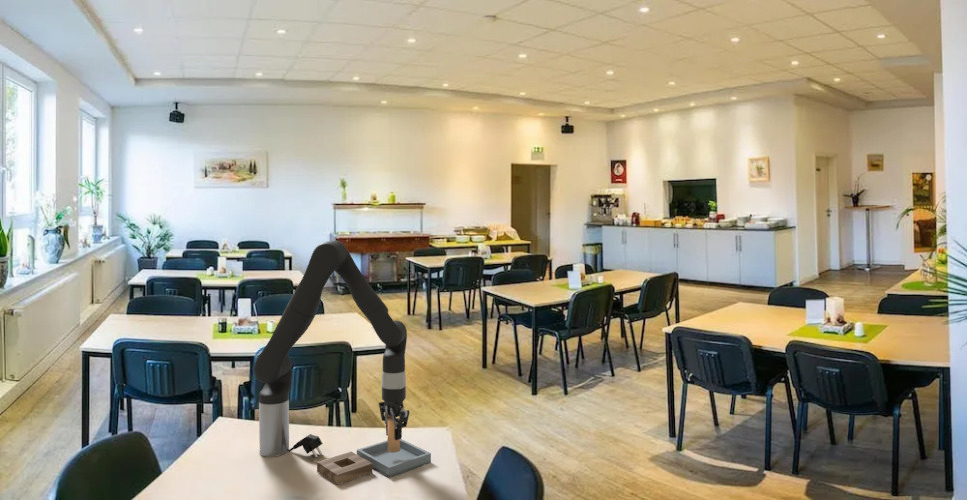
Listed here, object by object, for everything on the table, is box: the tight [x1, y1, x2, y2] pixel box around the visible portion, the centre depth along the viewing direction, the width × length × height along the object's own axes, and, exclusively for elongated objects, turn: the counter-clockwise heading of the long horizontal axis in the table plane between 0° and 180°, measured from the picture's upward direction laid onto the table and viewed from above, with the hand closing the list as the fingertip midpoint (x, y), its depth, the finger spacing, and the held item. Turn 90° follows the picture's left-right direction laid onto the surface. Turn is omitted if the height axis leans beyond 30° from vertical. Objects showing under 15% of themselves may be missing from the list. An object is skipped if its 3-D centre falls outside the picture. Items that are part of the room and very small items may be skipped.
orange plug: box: [386, 417, 400, 453], centre depth 194 cm, size 4×4×10 cm
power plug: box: [288, 433, 323, 459], centre depth 198 cm, size 6×8×12 cm
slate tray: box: [356, 438, 432, 478], centre depth 194 cm, size 18×16×3 cm
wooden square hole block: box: [316, 451, 373, 486], centre depth 185 cm, size 12×12×3 cm
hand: (393, 437), depth 194 cm, fingers closed on orange plug, 4 cm apart
